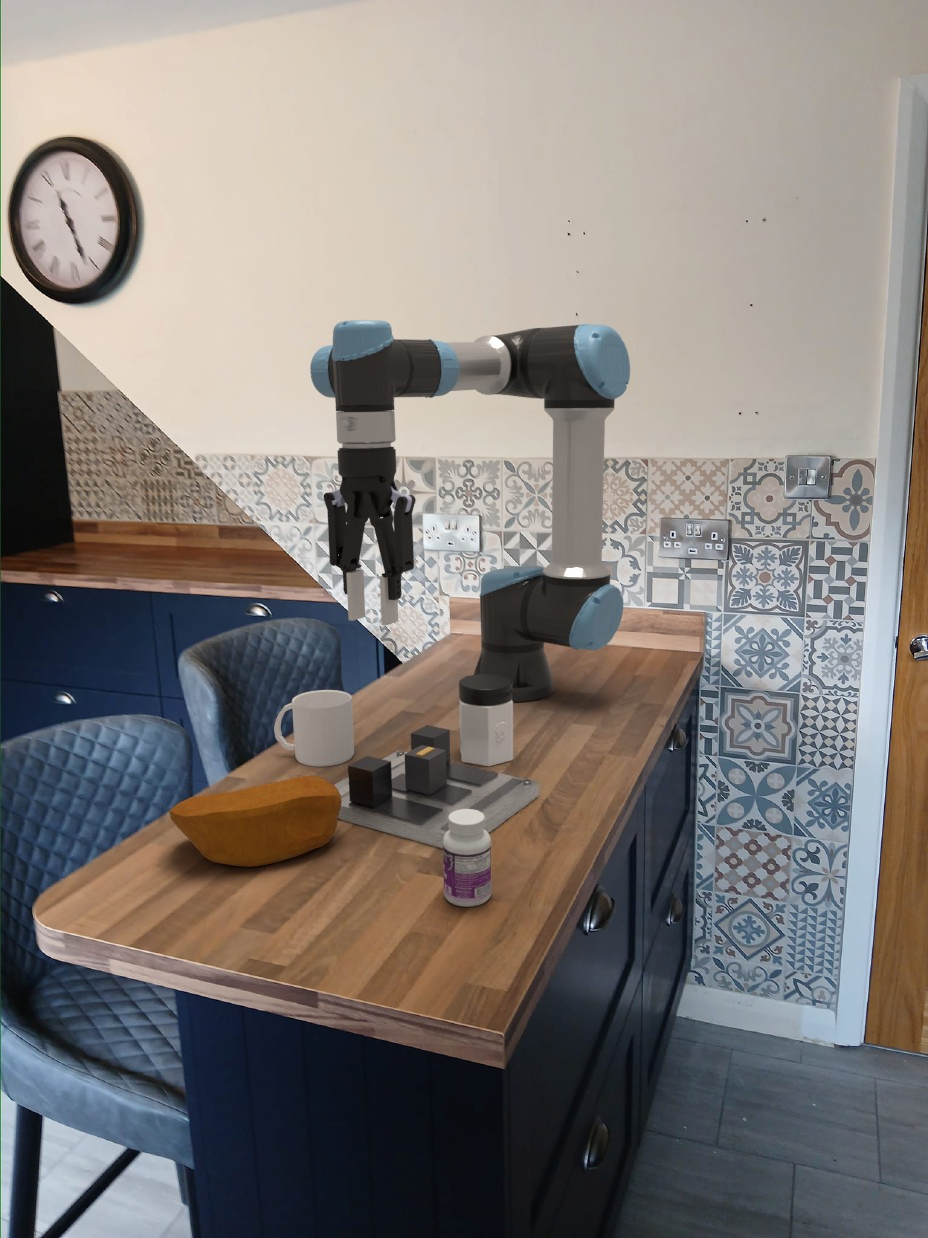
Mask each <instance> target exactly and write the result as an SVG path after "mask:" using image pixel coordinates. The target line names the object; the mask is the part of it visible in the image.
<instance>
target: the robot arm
mask: <svg viewBox="0 0 928 1238" xmlns="http://www.w3.org/2000/svg"><path fill="white" fill-rule="evenodd" d="M392 330H393V329H392V325H391V324H390V322H388V321H385V320H379V319H374V320H373V319H355V320H354V319H353V320H343V321H339V322H338V323H336V324H335V325H334V327H333V330H332V344H330V345H324V346H322V347H320V348H318V350H317V351H316V352H315V353H314V354H313V356H312V358H311V362H310V365H309V366H310V378H311V382H312V384H313V387H314V388H315V389H316V391H317V392H319V394H320V395H321V396H324V397H325V398H330V399H331V398H332V399H333V398H334V401H335V419H336V441H337V443H339V444H341V447H339V448H338V450H337V451H336V452H337V468H338V469H337V471H338V475H339V476H340V477H341V483H340V485H339V489H336V490H335V491H329V492H325V493H324V494H323V496H322V497H323V500H324V504H325V507H326V510H327V511H326V512H327V528H328V531H327V532H328V551H329V553H328V556H329V563H330V565H331V566H333V567H334V566H335V567H337V568H339V569H340V570H341V573H342V582H343V583H342V584H343V586H342V587H343V593H344V595H346V596H347V614H348V616H347V617H348V621H351V622H352V621H353V622H354V621H357V620H359V619H362V618H366V605H365V604H366V600H365V579H364V578H365V577H364V570H363V569H360V568H362V564H360V558H361V557H360V556H361V553H362V552H361V551H362V544H363V541H364V534H365V533H364V532H365V527H366V523H367V522H368V520H369V523H370V525H371V526H372V527H373V529H374V532H375V537H376V538H375V539H376V542H377V546H378V549H379V554H380V559H381V563H382V566H383V567H382V568H383V571H384V573H381V576H379V589H380V593H379V595H380V616H381V626H389V625H391V624H395V623H397V622H399V602H398V601H399V599H401V597H402V594H403V593H402V575H403V574H404V573H406V572H409V571H412V570H413V569H414V568H415V558H414V556H415V553H414V529H413V511H414V508H415V503H416V496H415V495H413V494H409V495H406V494H404V493H403V492H400V491H398V488H397V485H396V483H395V476H396V473H397V451H396V448H395V447H394V446H392V443H395V441H396V420H395V419H396V417H395V398H426V399H427V398H430V399H433V398H435V397H443V396H445V395H448V394H449V393H450V392H458V391H459V392H460V391H461V392H462V391H474V390H475V391H476V392H478V393H479V394H482V395H485V396H486V395H487V396H490V395H491V396H492V395H500V396H510V397H518V398H528V399H540V400H541V399H543V403H544V404H543V410H544V412H545V413H546V414H547V415H548V416H549V417H550V418H551V419H552V483H551V484H552V488H551V489H552V492H551V493H552V495H551V496H552V497H551V498H552V500H551V502H552V503H551V505H552V506H551V508H552V509H551V561H550V563H549V564H547V566H546V567H543V566H540V565H522V566H521V565H520V566H511V567H504V568H503V567H502V568H499V569H493V570H489V571H488V572H486V573H484V574H483V575H482V576H481V577H482V578H481V581H480V594H479V600H480V601H479V603H480V605H479V607H480V609H479V610H480V638H481V640H480V641H481V645H480V646H481V648H480V654H479V656H478V660H477V663H476V665H475V669H474V672H473V675H478V674H495V675H501V676H505V677H508V678H509V679H511V680H512V686H513V693H512V701H513V703H515V702H516V703H519V702H520V703H521V702H530V701H536V700H540V699H543V698H545V697H548V696H550V695H551V694H552V693H553V692H554V677H553V673H552V671H551V670H552V669H551V667H550V665H549V661H548V658H547V656H546V652H545V644H550V645H556V646H562V647H567V648H571V649H573V650H576V651H579V650H584V651H598V650H600V649H603V648H604V647H605V646H607V645H608V644H609V643H610V642H611V641H612V640H613V638H614V636H615V635H616V634H617V632H618V630H619V628H620V627H619V626H620V625H621V621H622V617H623V613H624V597H623V595H622V591H621V589H619V587H617V586H616V585H615V584H611V570H610V569H609V568H608V567H607V566H606V565H605V564H604V563H603V561H602V560H603V553H602V552H603V519H604V518H603V517H604V515H603V514H604V513H603V512H604V481H605V480H604V477H605V476H604V474H605V434H606V432H605V430H606V429H605V428H606V427H605V425H606V419H607V418H608V416H610V415H611V414H612V413H613V411H614V410H615V400H616V399H618V398H619V397H621V396H623V395H624V393H625V392H626V391H627V388H628V387H627V386H628V385H629V383H630V379H631V378H630V376H631V362H630V357H629V352H628V349H627V346H626V343H625V342H624V341H623V339H622V337H621V335H620V334H619V332H618V331H617V330H615V329H614V328H612V327H611V326H609V325H606V324H589V323H584V324H574V325H563V326H551V327H550V326H549V327H533V328H527V329H522V330H518V331H513V332H508V333H503V334H497V335H494V334H493V335H482V336H480V337H478V338H477V339H475V340H474V341H471V342H469V341H467V342H466V341H465V342H464V341H460V342H457V341H455V342H454V341H453V342H444V341H439V340H434V339H432V338H428V339H411V338H410V339H408V338H407V339H405V338H404V339H398V338H397V339H396V338H395V337H394V335H393V333H392V332H393V331H392ZM391 506H392V507H391ZM392 509H394V511H393V512H392Z"/></svg>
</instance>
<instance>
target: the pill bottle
mask: <svg viewBox="0 0 928 1238" xmlns="http://www.w3.org/2000/svg"><path fill="white" fill-rule="evenodd" d="M448 828H449V831H447V832H446V834H445V835H444V837H443V849H442V863H443V864H442V865H443V866H442V867H443V868H442V869H443V870H442V871H443V873H442V874H443V893H444V897H445V899H446V900H447V901H448V902H449V903H450V904H452V905H454V906H458V907H462V908H463V907H464V908H468V907H469V908H470V907H471V908H472V907H477V906H480V905H482V904H483V905H484V903H486V902H487V901H488V900H489V899H490V898H491V896H492V838H491V835H490V833H489V834H488V832H487V831H486V830H484V828H485V816H484V814H483V813H482V812H480V811H478V810H474V809H460V810H456V811H454V812H452V813H451V814H450V815H449V817H448Z"/></svg>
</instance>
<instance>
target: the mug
mask: <svg viewBox="0 0 928 1238" xmlns="http://www.w3.org/2000/svg"><path fill="white" fill-rule="evenodd" d="M291 709H292V722H293V723H292V725H293V726H292V727H293V741H294V743H290V742H287V740H286V739H285V737H284V736H283V735H282V734H283V733H282V727H281V725H282V720H283V717H284V716H285V713H286V712H287V711H289V710H291ZM353 713H354V712H353V696H352V695H351V694H350V693H348V692H346V691H342V690H337V689H335V690H334V689H321V690H320V689H319V690H310V691H307V692H303V693H300V694H298V695H296V696H294V697H293V698H292V699H291V703H288V704H286V705H283V707H282V709H280V711H279V712H278V714H277V717H276V718H275V722H274V727H273V731H274V737H275V738H274V739H276V741H277V743H279V744H280V746H281V747H282V748H284V750H288V751H294V757H295V759H296V761H297V762H298V763H299V764H302V765H304V766H307V767H308V766H309V767H317V768H324V767H333V766H338V765H341V764H344V763H346V762H348V761H350V760H351V759H352V758H353V757H354V755H355V740H354V739H355V738H354V737H355V736H354V735H355V733H354V716H353Z"/></svg>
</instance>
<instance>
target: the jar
mask: <svg viewBox="0 0 928 1238" xmlns="http://www.w3.org/2000/svg"><path fill="white" fill-rule="evenodd" d="M512 693H513V686H512V680H511V679H509V678H508V677H505V676H501V675H495V674H478V675H474V674H472V675H468V676H465V677H462V678H461V679H460V680H459V681H458V702H459V703H458V706H459V707H458V708H459V709H458V710H459V713H458V715H459V752H460V760H461V762H462V763H466V764H470V765H471V764H472V765H476V766H477V765H479V766H484V767H493V766H496V765H499V764H503V763H507V762H511V761H513V760H514V702H513V701H512Z"/></svg>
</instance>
